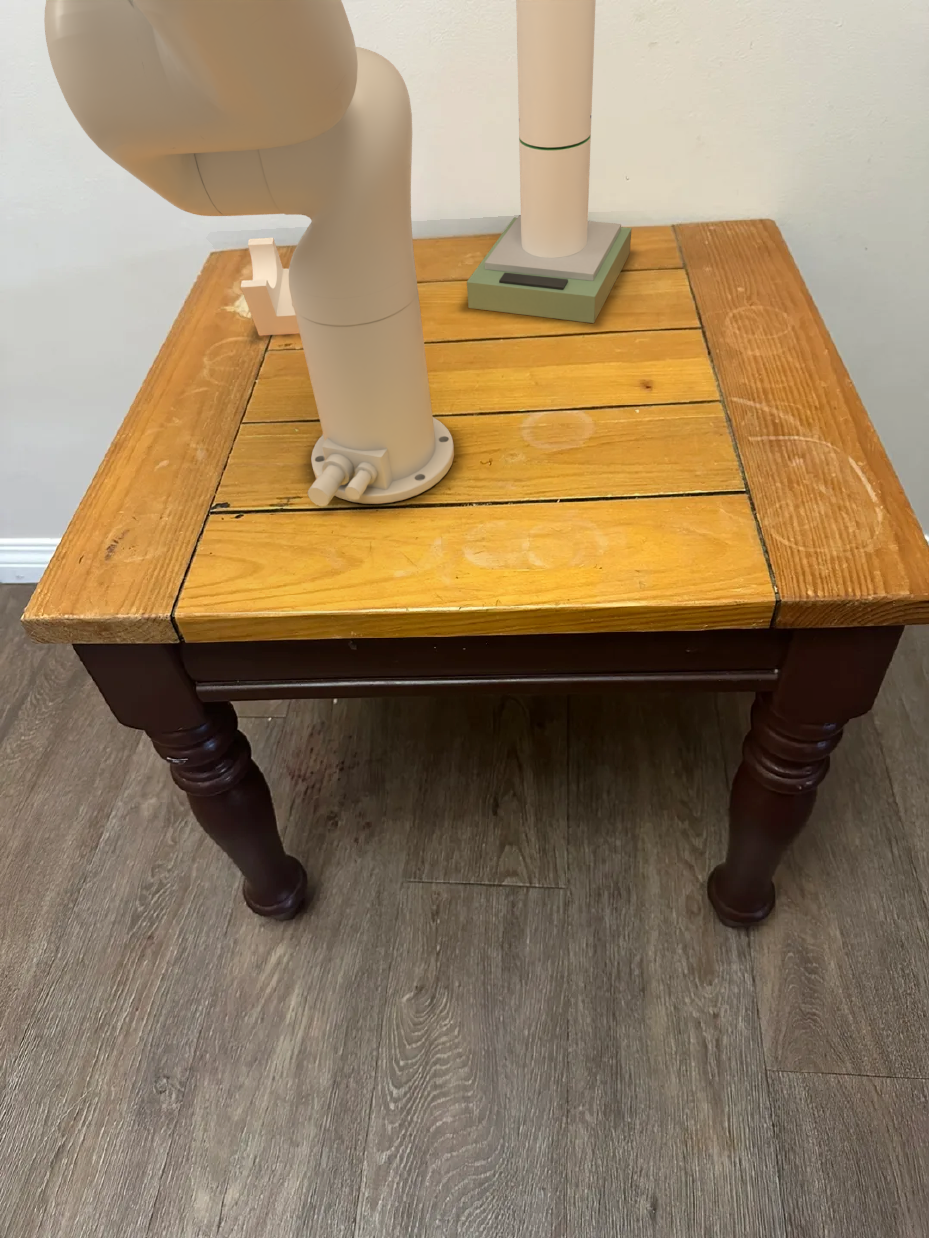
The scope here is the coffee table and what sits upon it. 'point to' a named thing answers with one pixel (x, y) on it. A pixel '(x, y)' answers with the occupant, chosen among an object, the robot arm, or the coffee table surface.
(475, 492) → the coffee table surface
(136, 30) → the robot arm
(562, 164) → the cylindrical container
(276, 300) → the bracket
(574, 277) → the kitchen scale
